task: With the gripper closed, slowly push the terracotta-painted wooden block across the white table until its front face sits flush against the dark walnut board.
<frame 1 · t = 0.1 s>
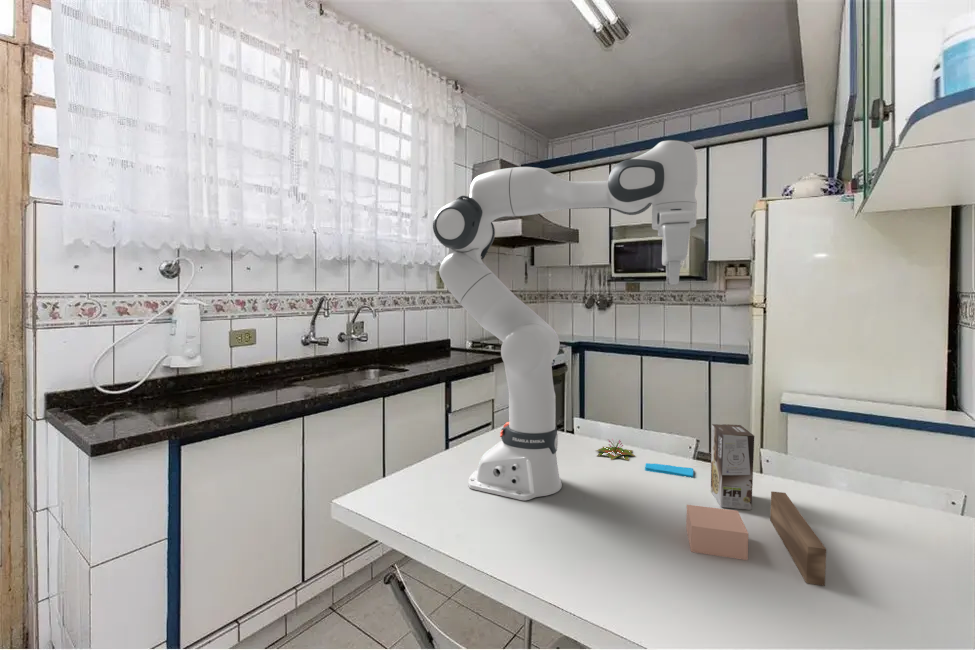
hand: (672, 284, 102), 48 cm above the table, fingers open, 8 cm apart
terracotta block: (714, 544, 87), on the table
sponge: (668, 472, 123), on the table
coffee box: (730, 501, 105), on the table
lily flower: (615, 456, 136), on the table
walnut board: (793, 548, 85), on the table
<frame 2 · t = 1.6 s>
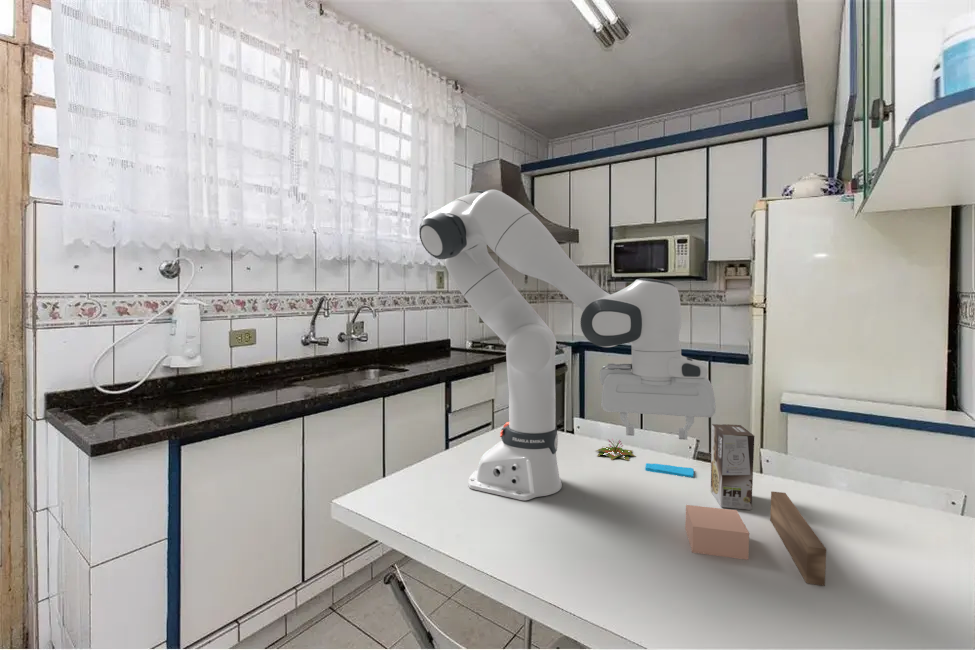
hand: (656, 436, 90), 19 cm above the table, fingers open, 8 cm apart
nothing on the table moved.
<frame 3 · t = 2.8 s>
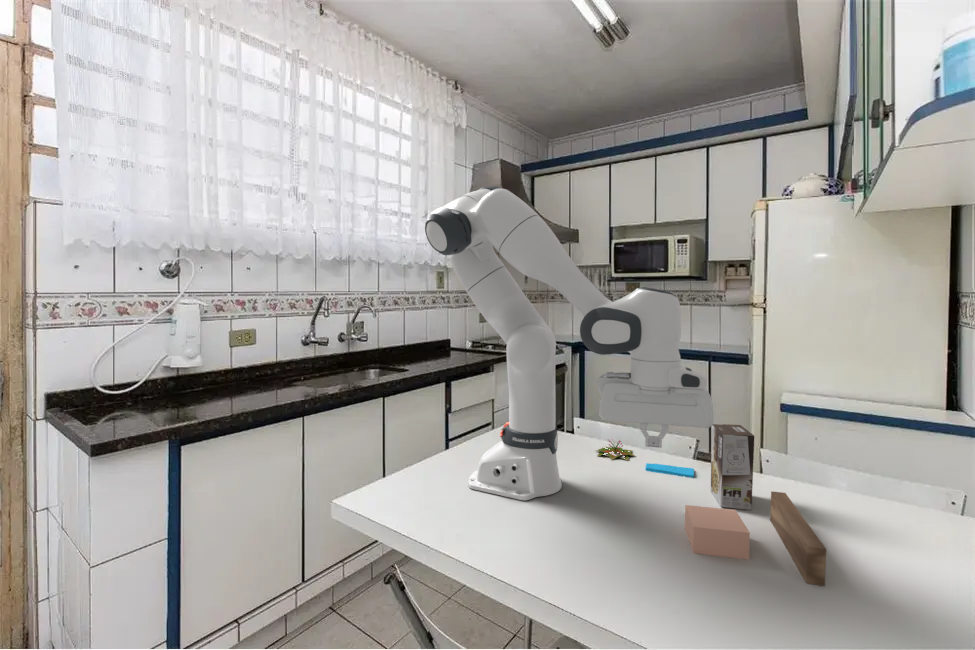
hand: (653, 446, 90), 17 cm above the table, fingers closed
nothing on the table moved.
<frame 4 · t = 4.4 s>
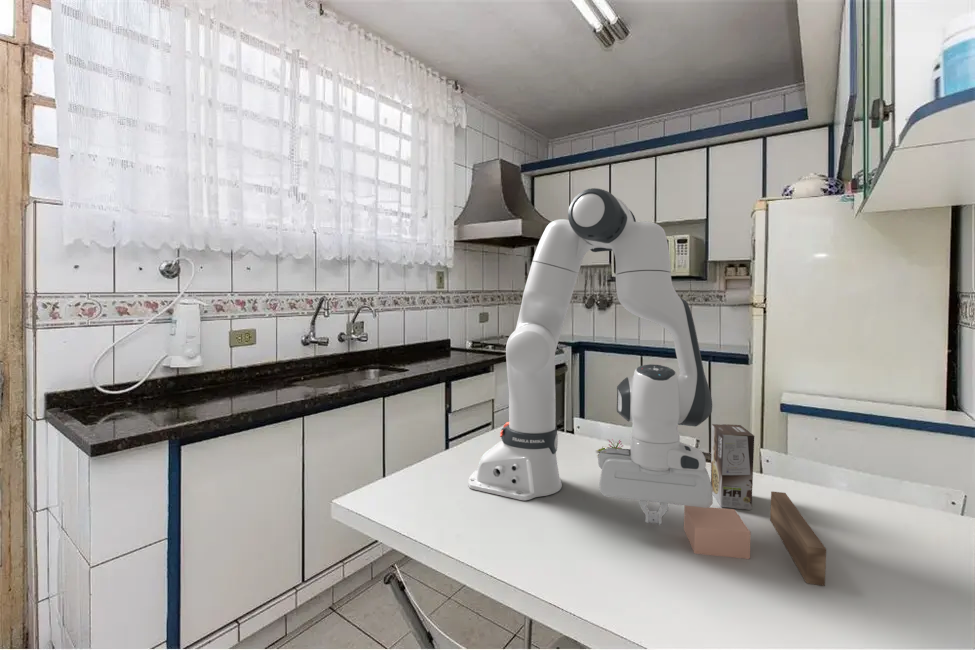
hand: (653, 522, 91), 2 cm above the table, fingers closed
nothing on the table moved.
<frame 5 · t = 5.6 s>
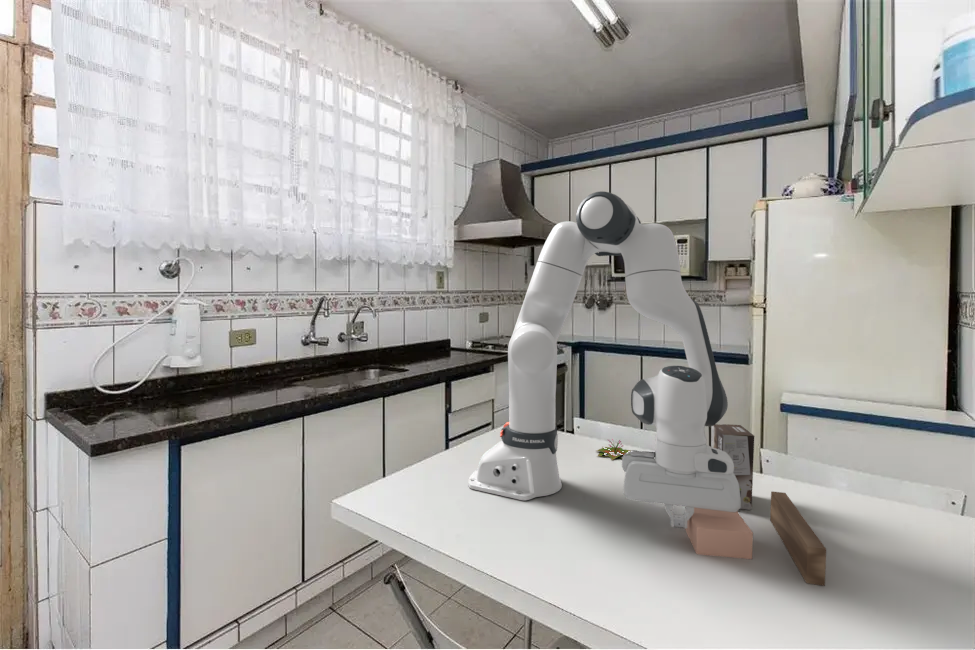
hand: (678, 526, 89), 2 cm above the table, fingers closed
terracotta block: (716, 544, 87), on the table, touching gripper
everything else where it was.
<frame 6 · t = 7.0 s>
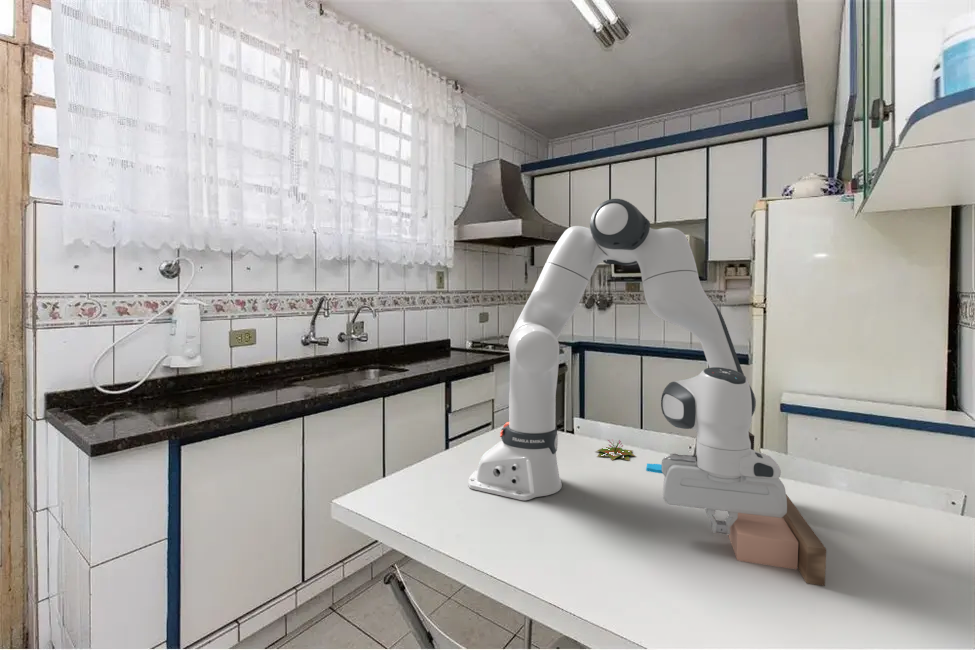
hand: (720, 532, 87), 2 cm above the table, fingers closed
terracotta block: (760, 552, 85), on the table, touching gripper
everything else where it was.
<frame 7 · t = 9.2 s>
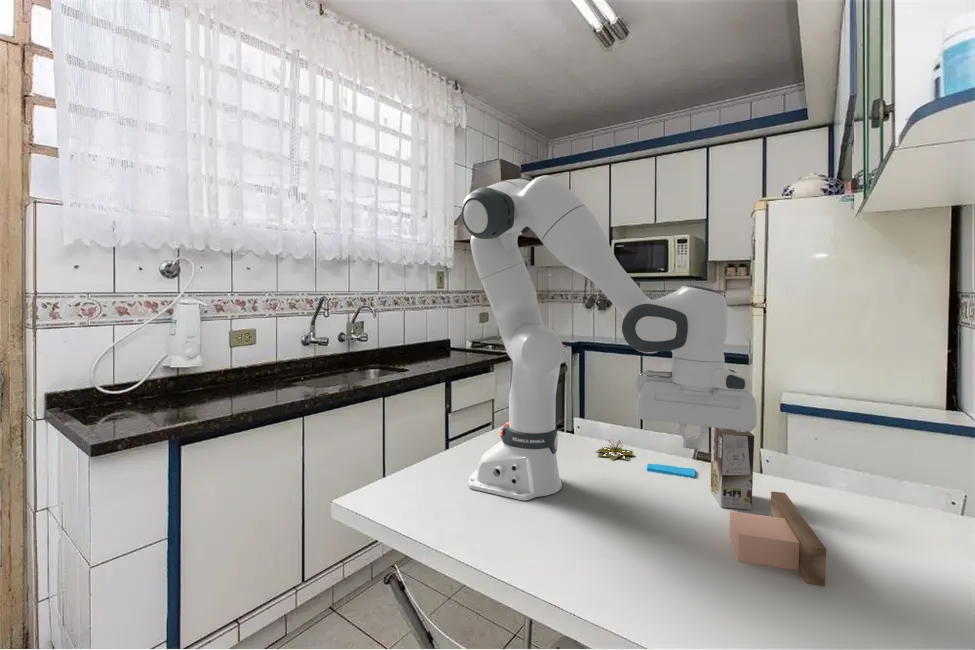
hand: (691, 447, 88), 17 cm above the table, fingers closed
terracotta block: (761, 553, 84), on the table
everything else where it was.
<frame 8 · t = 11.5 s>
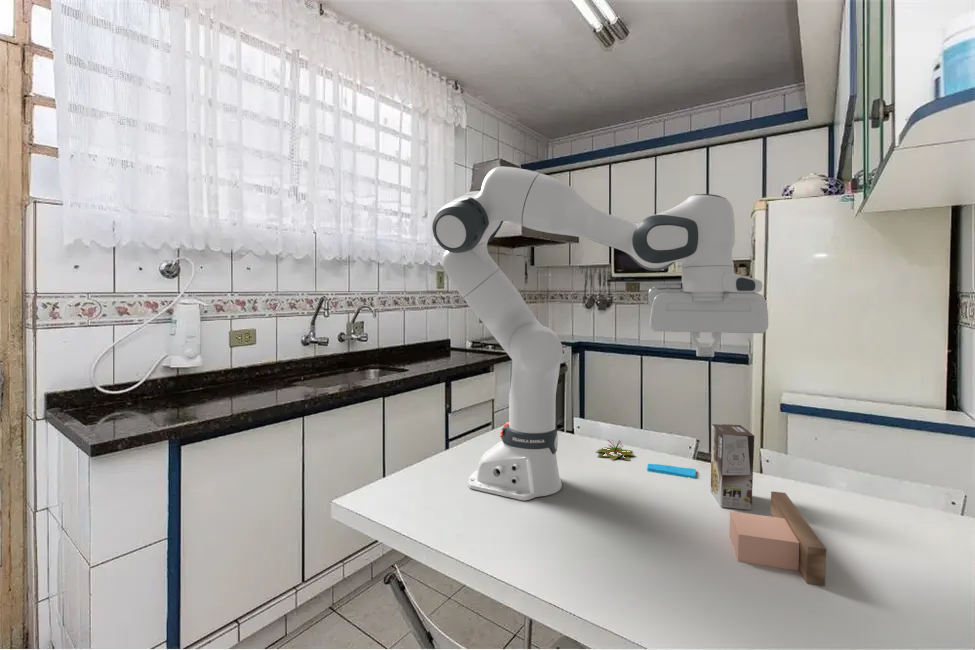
hand: (705, 356, 90), 34 cm above the table, fingers closed
nothing on the table moved.
at the end: terracotta block inside the target area on the table beside the walnut board (1.8 cm from its centre), on the table; terracotta block tilted 0° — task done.
